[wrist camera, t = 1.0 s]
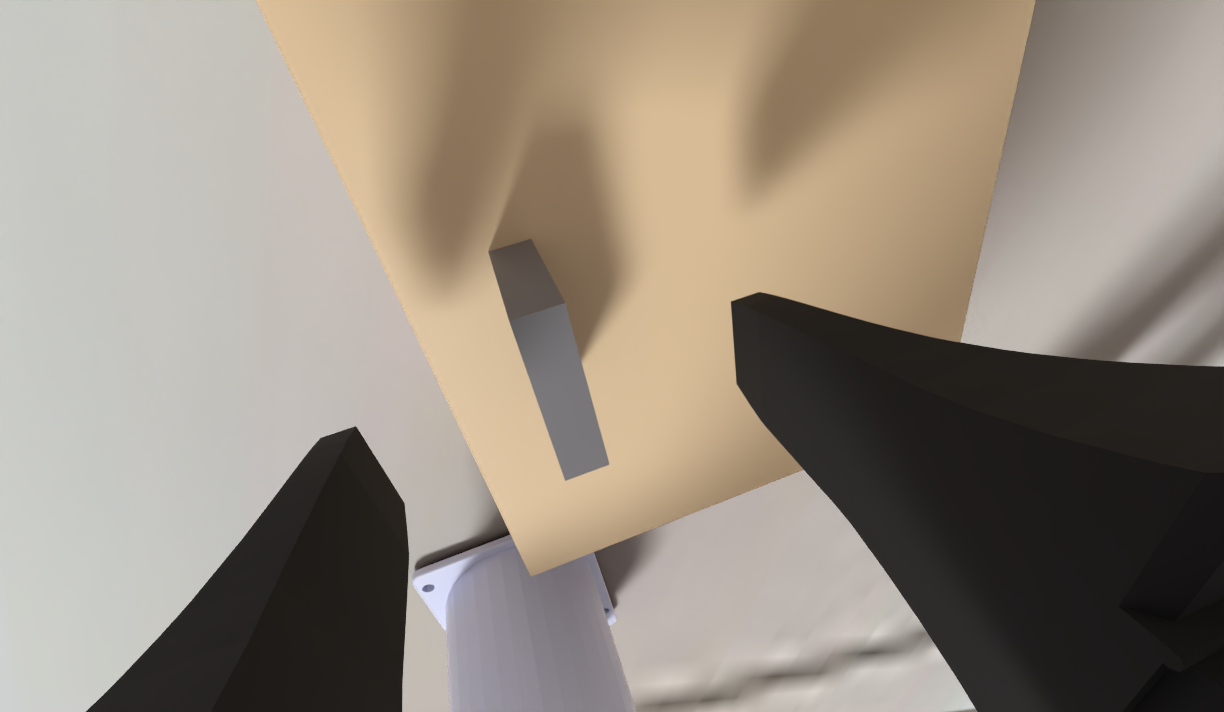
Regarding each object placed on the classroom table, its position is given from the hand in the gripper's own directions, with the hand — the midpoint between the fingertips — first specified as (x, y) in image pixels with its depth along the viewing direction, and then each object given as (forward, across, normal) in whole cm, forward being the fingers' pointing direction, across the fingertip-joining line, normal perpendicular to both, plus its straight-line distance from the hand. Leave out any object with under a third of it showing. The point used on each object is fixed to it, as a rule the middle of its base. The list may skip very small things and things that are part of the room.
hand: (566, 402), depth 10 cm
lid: (+4, -6, 0) cm, 7 cm away
